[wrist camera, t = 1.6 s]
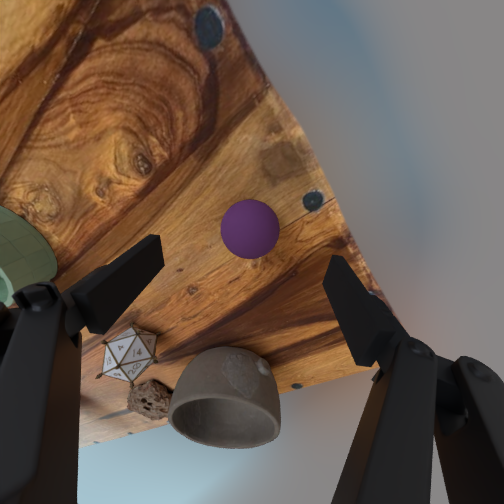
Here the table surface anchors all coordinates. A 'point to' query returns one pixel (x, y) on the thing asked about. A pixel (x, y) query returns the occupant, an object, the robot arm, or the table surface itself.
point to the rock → (150, 400)
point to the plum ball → (250, 229)
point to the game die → (129, 354)
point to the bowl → (226, 400)
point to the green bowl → (22, 256)
